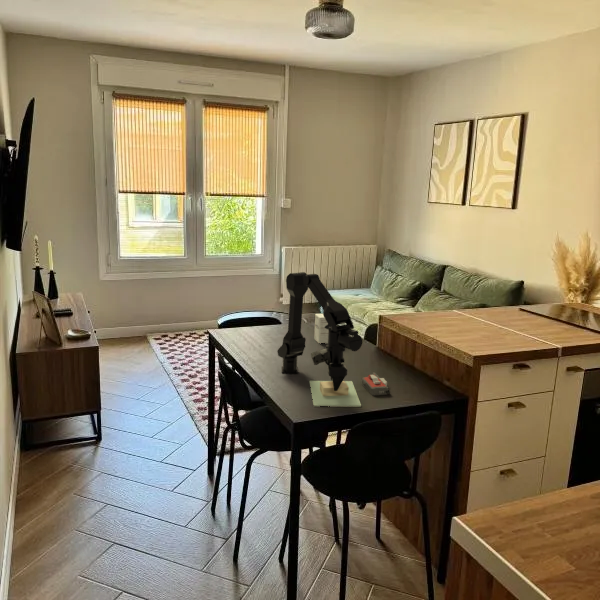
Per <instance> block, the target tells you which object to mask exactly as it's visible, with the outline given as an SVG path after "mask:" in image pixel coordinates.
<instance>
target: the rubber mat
mask: <svg viewBox="0 0 600 600" xmlns="http://www.w3.org/2000/svg"><path fill="white" fill-rule="evenodd" d="M326 381H327V380H309V382H308V383H309V387H311V388H310V393H312V394H311V399H313V400H312V404H313V405H314V406H313V407H320V406H328V407H329V406H330V407H331V408H332V407H337V408H338V407H342V408H343V407H345V408H346V407H347V408H349V407H351V408H353V407H354V408H355V407H357V408H358V407H359V408H361V407H362V404H361V401H360V399H359V396H358V394H357V390H356V388H355V386H354V383H353V381H352V380H344V381H345V382H346V384H347V385H348V387H349V390H348V395H342V396H323V395H322V393H321V391H320V382H326Z"/></svg>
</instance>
